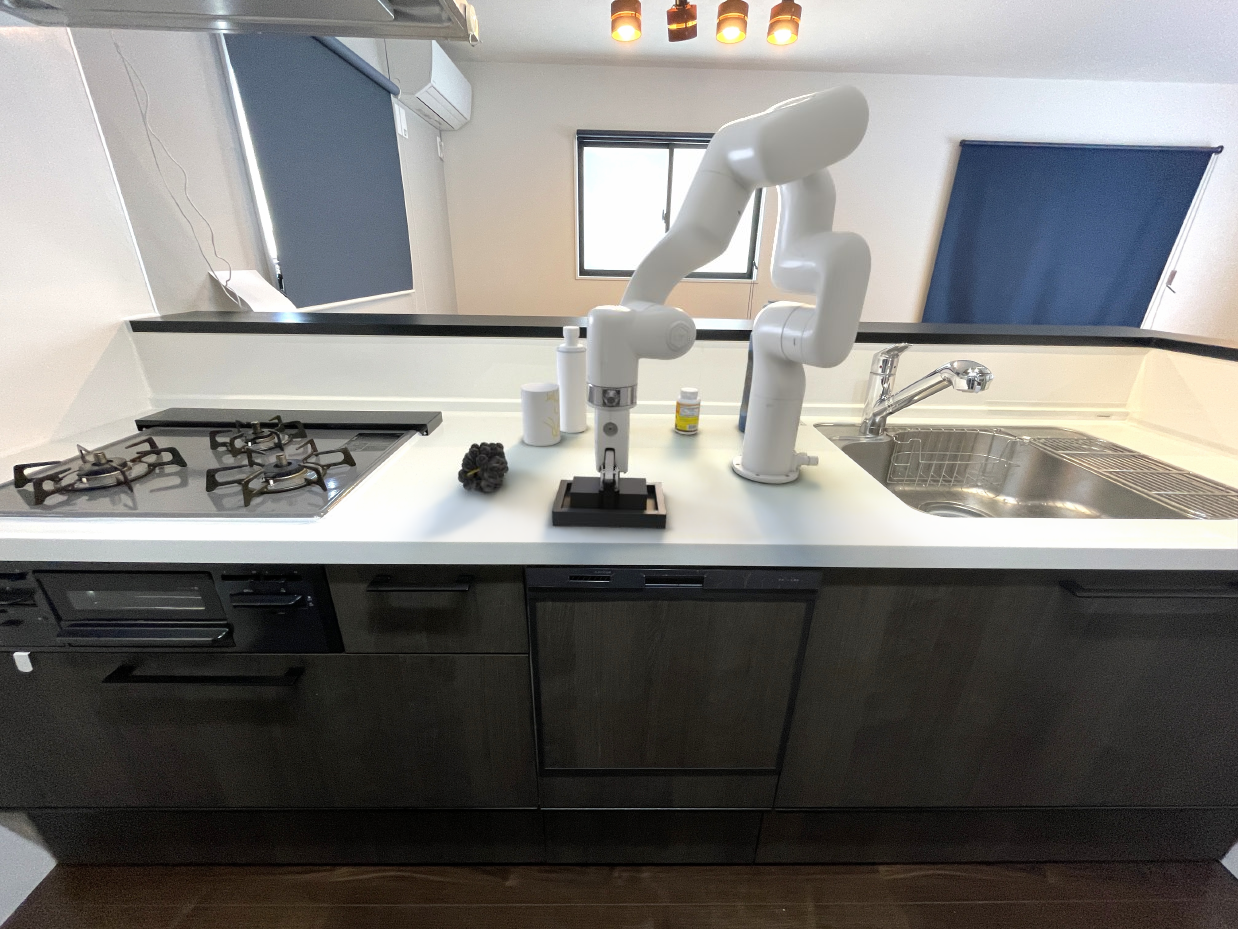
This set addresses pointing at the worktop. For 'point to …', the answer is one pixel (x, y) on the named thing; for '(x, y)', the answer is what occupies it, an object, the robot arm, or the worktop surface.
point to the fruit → (483, 467)
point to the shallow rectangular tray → (610, 511)
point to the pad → (588, 493)
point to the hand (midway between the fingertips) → (609, 500)
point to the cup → (541, 413)
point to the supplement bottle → (687, 411)
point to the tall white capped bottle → (572, 382)
